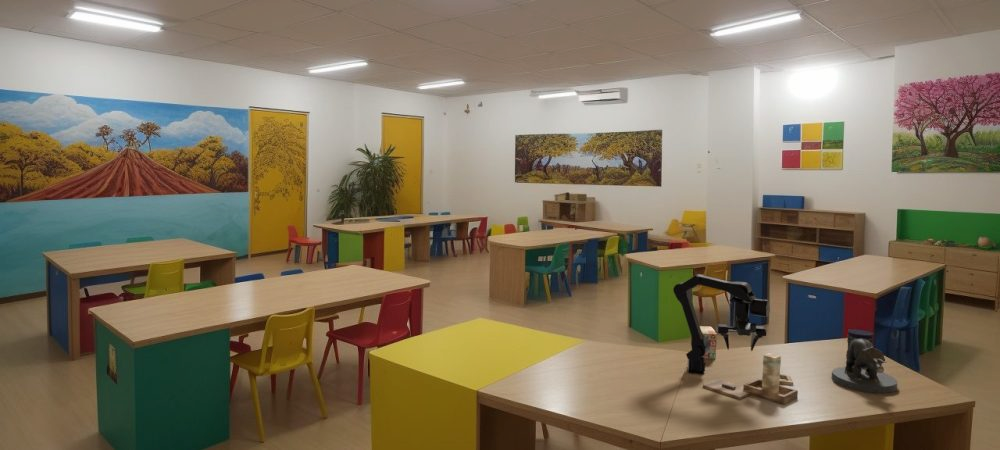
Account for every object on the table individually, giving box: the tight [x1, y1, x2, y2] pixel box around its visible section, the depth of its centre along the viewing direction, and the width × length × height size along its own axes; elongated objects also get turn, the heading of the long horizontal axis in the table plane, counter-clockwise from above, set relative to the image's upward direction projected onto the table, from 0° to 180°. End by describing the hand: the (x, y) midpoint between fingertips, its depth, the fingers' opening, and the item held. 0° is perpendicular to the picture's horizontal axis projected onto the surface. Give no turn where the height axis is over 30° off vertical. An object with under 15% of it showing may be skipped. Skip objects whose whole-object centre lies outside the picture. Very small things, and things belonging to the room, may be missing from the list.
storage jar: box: [845, 328, 874, 368], centre depth 268 cm, size 10×10×15 cm
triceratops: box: [831, 338, 898, 395], centre depth 245 cm, size 23×35×18 cm, turn 168°
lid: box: [702, 378, 752, 400], centre depth 236 cm, size 16×11×2 cm
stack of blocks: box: [700, 325, 718, 360], centre depth 285 cm, size 21×6×12 cm, turn 172°
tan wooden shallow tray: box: [742, 378, 799, 406], centre depth 232 cm, size 16×11×3 cm
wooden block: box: [761, 352, 782, 394], centre depth 231 cm, size 5×5×15 cm
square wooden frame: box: [779, 373, 794, 386], centre depth 248 cm, size 9×9×1 cm
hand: (739, 350), depth 246 cm, fingers open, 9 cm apart
